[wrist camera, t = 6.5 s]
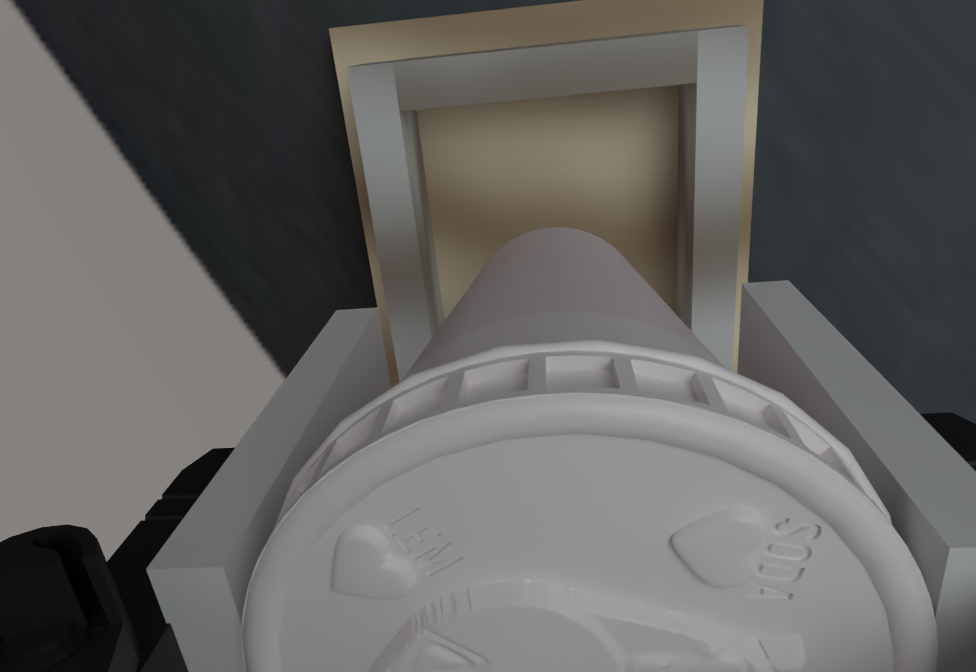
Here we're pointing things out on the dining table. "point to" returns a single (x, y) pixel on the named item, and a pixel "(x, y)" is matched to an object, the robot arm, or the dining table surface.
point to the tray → (555, 150)
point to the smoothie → (581, 505)
